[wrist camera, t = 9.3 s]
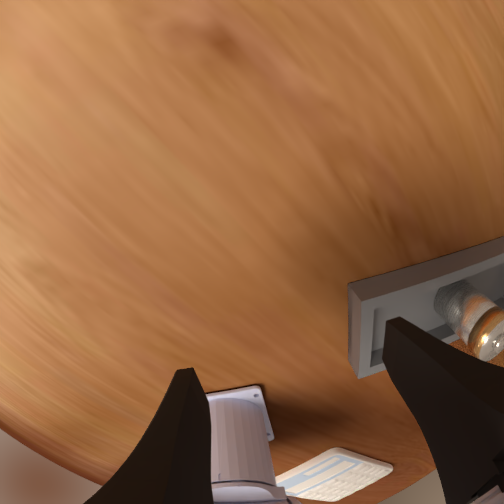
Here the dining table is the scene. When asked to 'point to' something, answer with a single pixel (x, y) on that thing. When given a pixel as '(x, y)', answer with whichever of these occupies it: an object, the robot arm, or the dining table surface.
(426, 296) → the trough
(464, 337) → the cell
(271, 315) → the dining table surface
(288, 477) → the calculator
